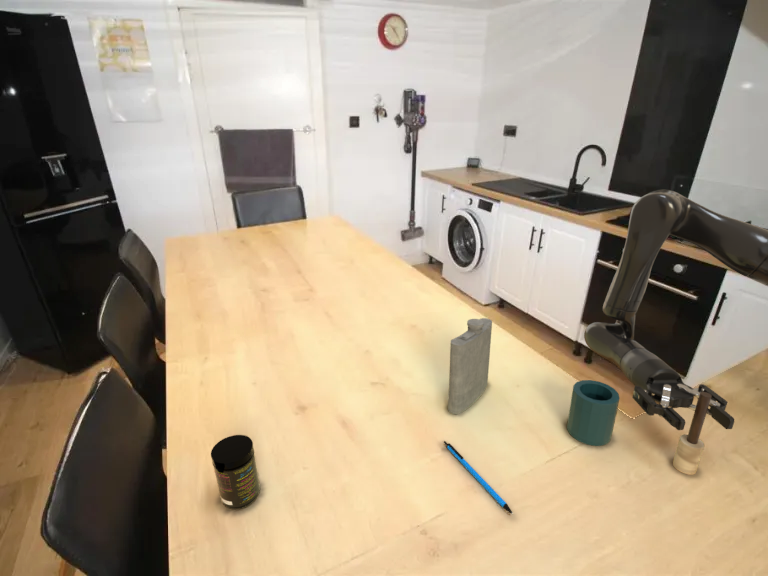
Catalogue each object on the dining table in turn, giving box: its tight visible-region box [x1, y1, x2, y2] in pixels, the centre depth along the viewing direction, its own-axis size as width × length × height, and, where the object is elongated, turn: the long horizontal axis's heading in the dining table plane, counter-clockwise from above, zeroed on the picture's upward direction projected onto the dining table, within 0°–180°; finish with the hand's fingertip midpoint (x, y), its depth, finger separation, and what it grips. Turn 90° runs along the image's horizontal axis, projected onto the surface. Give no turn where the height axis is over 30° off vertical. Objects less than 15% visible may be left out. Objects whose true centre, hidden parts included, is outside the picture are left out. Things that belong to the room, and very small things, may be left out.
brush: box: [672, 392, 712, 476], centre depth 73 cm, size 4×4×16 cm
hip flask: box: [447, 317, 493, 415], centre depth 94 cm, size 16×4×20 cm, turn 141°
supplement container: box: [210, 434, 261, 510], centre depth 71 cm, size 7×7×10 cm
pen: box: [443, 440, 514, 514], centre depth 75 cm, size 1×19×1 cm, turn 28°
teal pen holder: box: [566, 379, 620, 447], centre depth 83 cm, size 8×8×10 cm
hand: (706, 425), depth 70 cm, fingers open, 8 cm apart
